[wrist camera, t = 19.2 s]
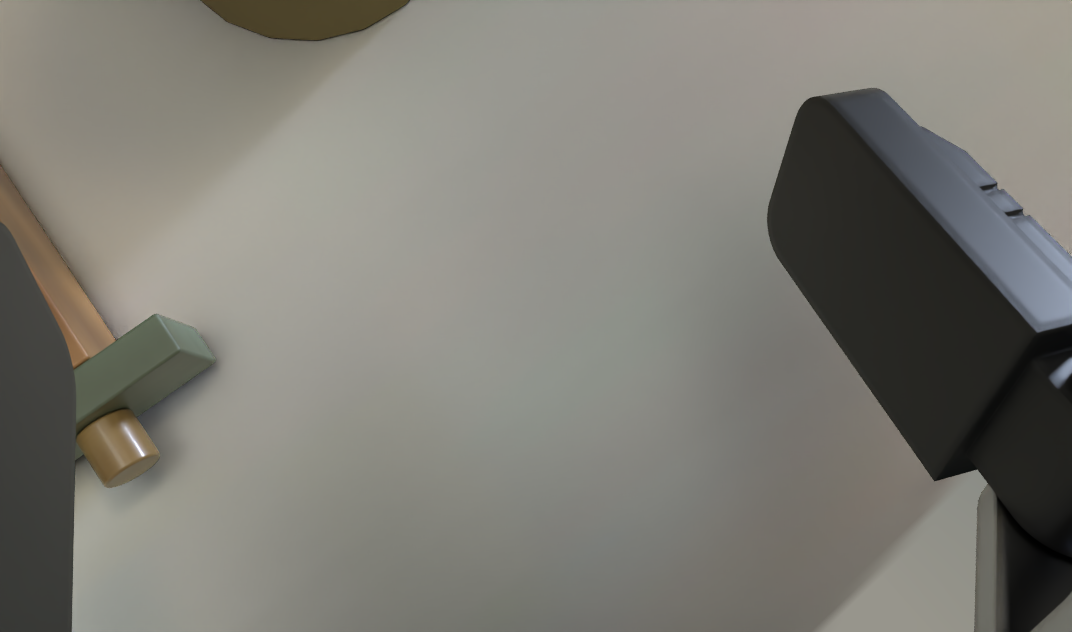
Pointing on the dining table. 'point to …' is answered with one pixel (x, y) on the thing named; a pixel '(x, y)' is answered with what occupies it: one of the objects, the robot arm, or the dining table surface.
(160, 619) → the dining table surface
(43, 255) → the drawer
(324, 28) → the olive peg doll
